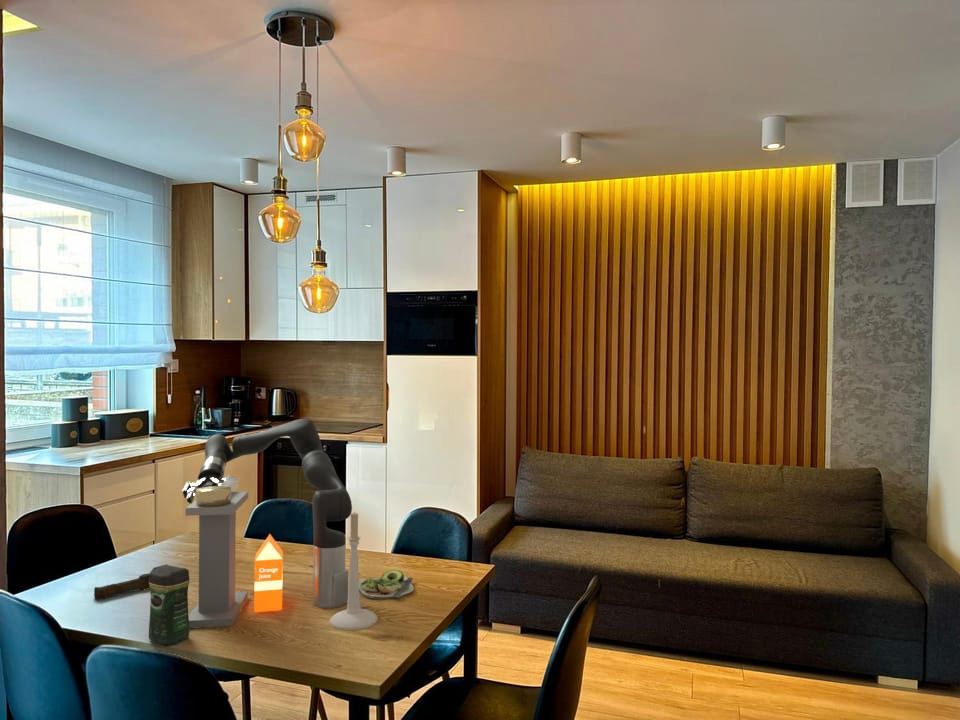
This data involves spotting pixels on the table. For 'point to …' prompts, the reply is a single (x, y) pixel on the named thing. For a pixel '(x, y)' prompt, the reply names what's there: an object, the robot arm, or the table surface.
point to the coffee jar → (169, 604)
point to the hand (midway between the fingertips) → (204, 498)
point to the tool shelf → (217, 565)
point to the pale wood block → (216, 494)
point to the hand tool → (122, 587)
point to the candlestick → (353, 591)
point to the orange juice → (268, 577)
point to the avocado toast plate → (387, 585)
